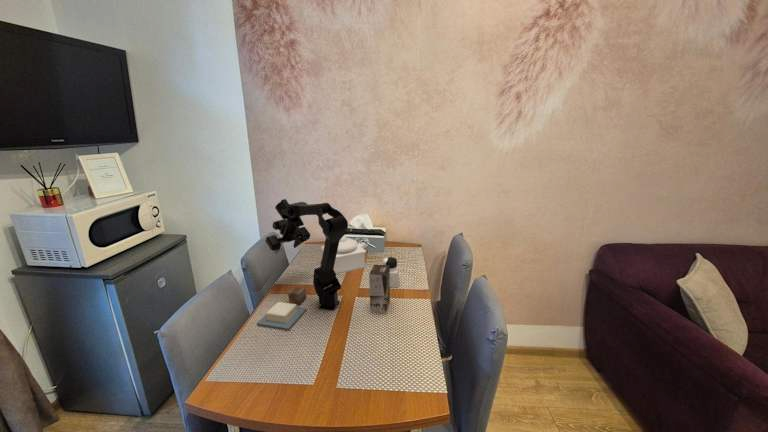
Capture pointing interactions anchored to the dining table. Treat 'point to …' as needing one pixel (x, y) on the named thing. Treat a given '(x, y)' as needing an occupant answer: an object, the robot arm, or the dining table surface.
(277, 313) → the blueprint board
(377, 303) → the coffee box
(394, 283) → the medicine bottle
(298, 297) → the walnut block
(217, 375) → the dining table surface
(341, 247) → the white square box
